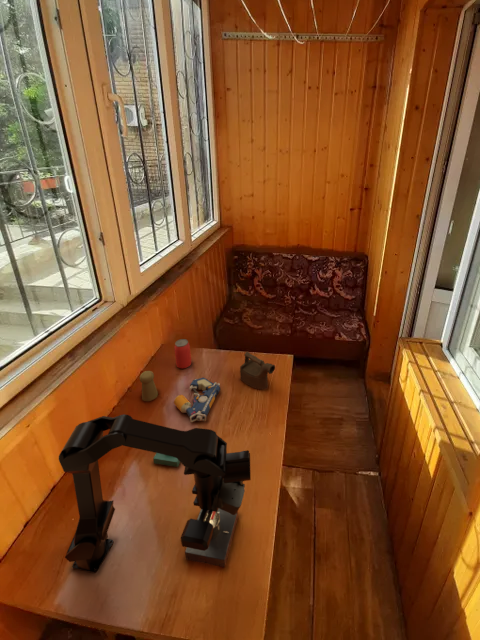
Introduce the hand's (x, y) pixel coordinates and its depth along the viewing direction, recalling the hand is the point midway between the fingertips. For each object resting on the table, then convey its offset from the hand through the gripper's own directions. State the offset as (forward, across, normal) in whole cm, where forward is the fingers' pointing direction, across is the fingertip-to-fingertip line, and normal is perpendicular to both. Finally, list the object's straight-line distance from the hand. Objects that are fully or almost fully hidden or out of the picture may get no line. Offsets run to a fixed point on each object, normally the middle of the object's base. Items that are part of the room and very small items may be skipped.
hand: (211, 521), depth 79 cm
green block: (+6, +21, +22) cm, 31 cm away
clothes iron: (+6, +56, +2) cm, 56 cm away
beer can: (+6, +62, +38) cm, 73 cm away
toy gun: (+6, +42, +23) cm, 48 cm away
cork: (+6, +42, +43) cm, 60 cm away
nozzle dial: (+3, 0, 0) cm, 3 cm away
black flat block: (+6, 0, 0) cm, 6 cm away
